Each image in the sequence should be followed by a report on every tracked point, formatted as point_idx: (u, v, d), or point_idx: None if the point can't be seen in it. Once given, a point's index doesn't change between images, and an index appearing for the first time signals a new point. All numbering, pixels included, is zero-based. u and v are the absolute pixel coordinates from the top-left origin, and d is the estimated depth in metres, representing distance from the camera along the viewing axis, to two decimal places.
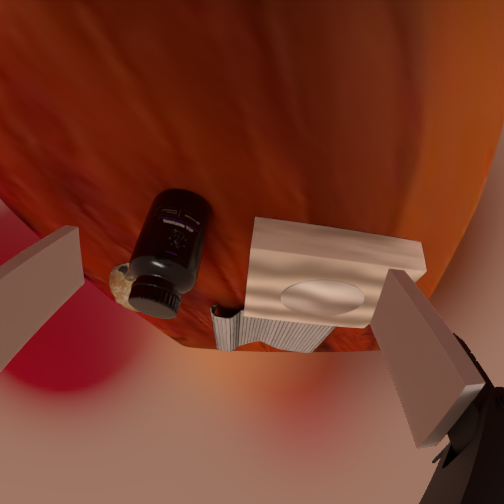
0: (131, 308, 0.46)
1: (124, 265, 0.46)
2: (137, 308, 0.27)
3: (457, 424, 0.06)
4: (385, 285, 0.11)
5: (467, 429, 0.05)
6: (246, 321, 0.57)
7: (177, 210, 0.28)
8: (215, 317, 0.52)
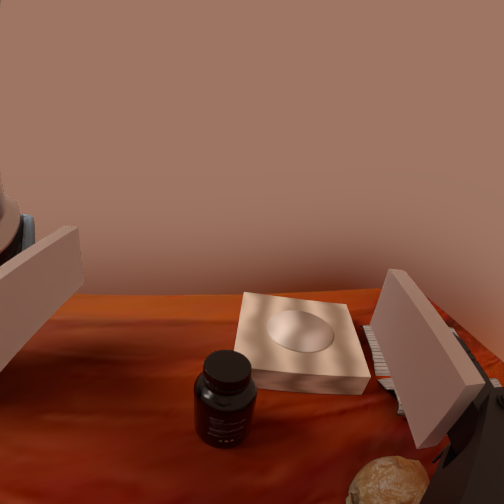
0: (406, 476, 0.22)
1: None
2: (232, 377, 0.27)
3: (457, 424, 0.06)
4: (385, 285, 0.11)
5: (467, 429, 0.05)
6: None
7: None
8: None
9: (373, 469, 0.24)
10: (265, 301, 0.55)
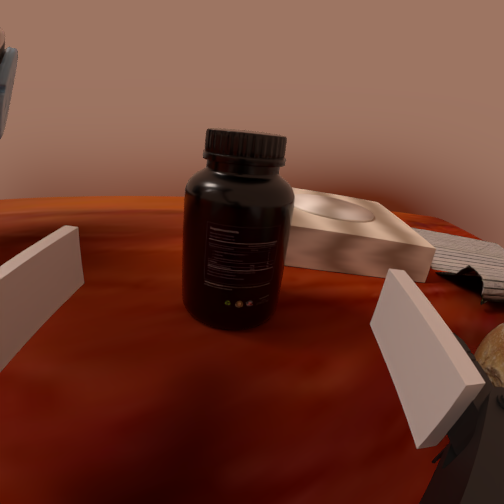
0: None
1: None
2: (256, 133, 0.16)
3: (457, 424, 0.06)
4: (385, 285, 0.11)
5: (467, 429, 0.05)
6: None
7: None
8: (485, 276, 0.23)
9: None
10: None
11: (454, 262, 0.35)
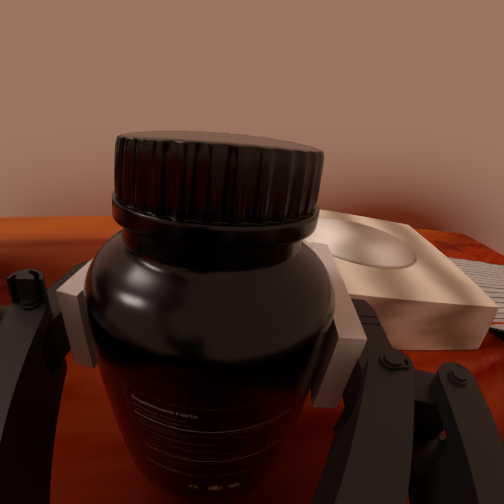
0: None
1: None
2: (242, 142, 0.05)
3: (348, 384, 0.07)
4: None
5: (355, 394, 0.07)
6: None
7: None
8: None
9: None
10: None
11: (502, 307, 0.24)
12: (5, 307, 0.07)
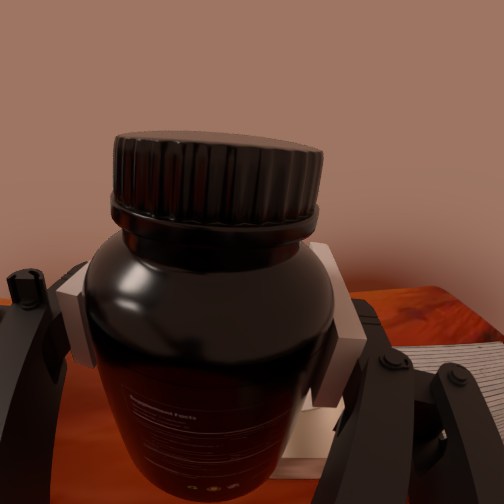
0: None
1: None
2: (241, 142, 0.05)
3: (348, 384, 0.07)
4: None
5: (354, 394, 0.07)
6: None
7: None
8: None
9: None
10: None
11: None
12: (5, 307, 0.07)
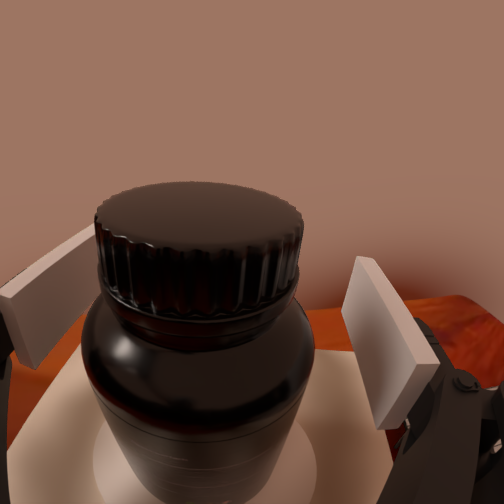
0: None
1: None
2: (215, 235, 0.05)
3: (416, 406, 0.07)
4: (353, 272, 0.12)
5: (425, 413, 0.06)
6: None
7: None
8: None
9: None
10: None
11: None
12: None
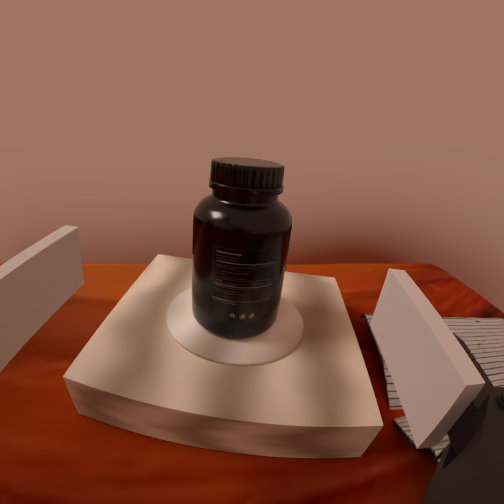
0: None
1: None
2: (256, 165, 0.18)
3: (457, 424, 0.06)
4: (385, 285, 0.11)
5: (467, 429, 0.05)
6: None
7: None
8: None
9: None
10: (188, 268, 0.31)
11: None
12: None
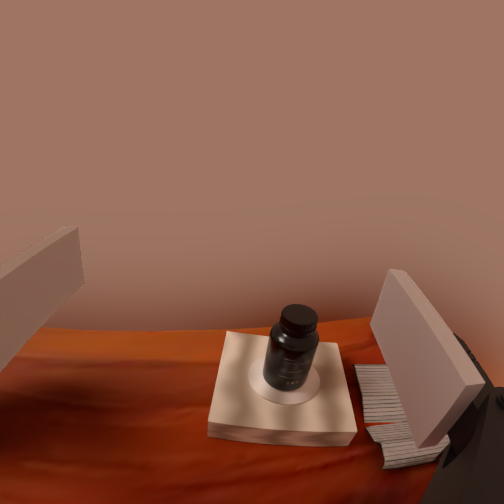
0: None
1: None
2: (306, 322, 0.37)
3: (457, 425, 0.06)
4: (385, 285, 0.11)
5: (467, 429, 0.05)
6: (408, 433, 0.36)
7: None
8: (388, 458, 0.30)
9: None
10: (249, 342, 0.51)
11: (389, 411, 0.41)
12: None
